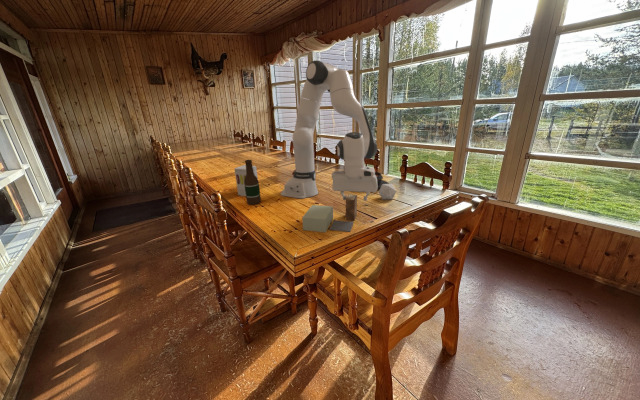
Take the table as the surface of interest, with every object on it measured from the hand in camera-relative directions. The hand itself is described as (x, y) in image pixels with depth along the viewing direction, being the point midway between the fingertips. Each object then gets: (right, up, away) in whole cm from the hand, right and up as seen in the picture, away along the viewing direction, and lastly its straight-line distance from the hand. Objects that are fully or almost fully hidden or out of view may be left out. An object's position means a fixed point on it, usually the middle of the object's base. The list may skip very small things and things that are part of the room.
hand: (355, 199), depth 118 cm
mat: (-7, -11, -6) cm, 14 cm away
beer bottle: (-53, -2, +25) cm, 59 cm away
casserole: (+15, +8, +44) cm, 47 cm away
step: (-17, -11, -3) cm, 20 cm away
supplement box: (-60, +4, +40) cm, 72 cm away
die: (+21, +1, +23) cm, 31 cm away
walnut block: (-1, -8, +2) cm, 9 cm away
